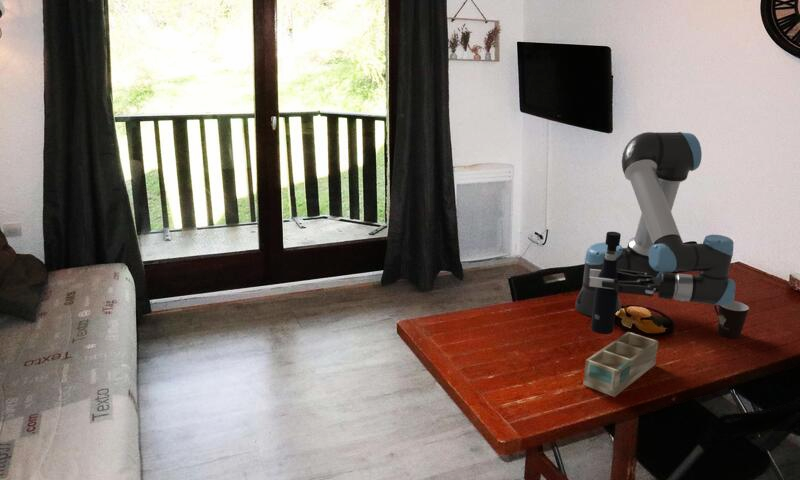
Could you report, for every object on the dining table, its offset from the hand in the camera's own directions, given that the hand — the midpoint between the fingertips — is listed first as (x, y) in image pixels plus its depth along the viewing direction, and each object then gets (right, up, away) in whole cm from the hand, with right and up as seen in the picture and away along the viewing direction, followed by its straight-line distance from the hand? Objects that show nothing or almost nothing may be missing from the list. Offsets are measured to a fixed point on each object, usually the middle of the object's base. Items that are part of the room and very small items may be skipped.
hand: (589, 277), depth 195 cm
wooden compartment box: (+6, -27, -8) cm, 29 cm away
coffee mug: (+51, -19, +21) cm, 58 cm away
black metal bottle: (+5, -16, +4) cm, 17 cm away
